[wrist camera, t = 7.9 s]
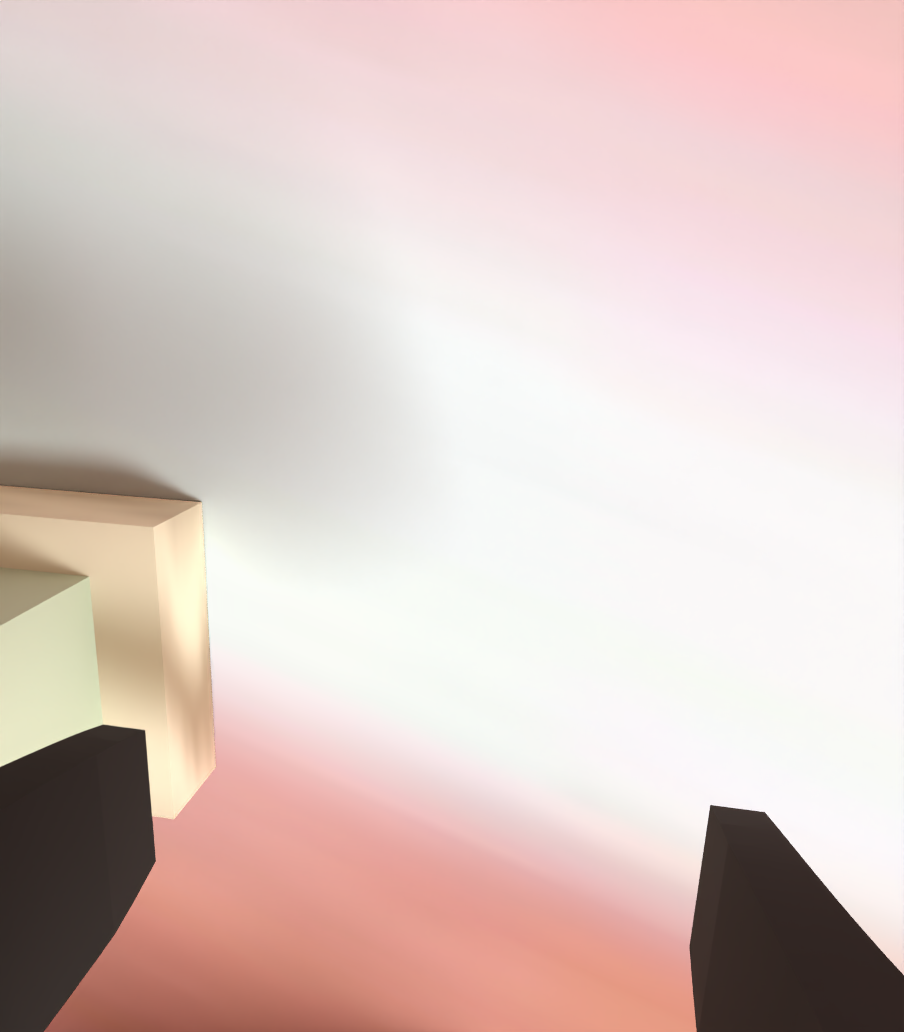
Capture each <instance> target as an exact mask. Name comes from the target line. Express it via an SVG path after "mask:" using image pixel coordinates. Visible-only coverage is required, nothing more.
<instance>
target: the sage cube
mask: <svg viewBox="0 0 904 1032" xmlns="http://www.w3.org/2000/svg"><path fill="white" fill-rule="evenodd" d="M100 725H103V719H102V708H101V697H100V686H99V676H98V665H97V654H96V644H95V633H94V622H93V612H92V601H91V590H90V579H89V577H88V576H79V575H69V574H60V573H50V572H40V571H31V570H21V569H12V568H2V567H0V767H1V766H3V765H6V764H8V763H10V762H12V761H15V760H17V759H19V758H21V757H23V756H26V755H28V754H30V753H33V752H35V751H37V750H39V749H42V748H44V747H46V746H49V745H51V744H53V743H56V742H58V741H60V740H63V739H65V738H68V737H70V736H73V735H75V734H78V733H80V732H83V731H85V730H88V729H91V728H94V727H97V726H100Z"/></svg>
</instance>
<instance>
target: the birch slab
mask: <svg viewBox="0 0 904 1032" xmlns="http://www.w3.org/2000/svg"><path fill="white" fill-rule="evenodd" d="M0 567H2V568H12V569H21V570H31V571H40V572H50V573H60V574H69V575H79V576H88V577H89V579H90V590H91V601H92V612H93V622H94V633H95V644H96V654H97V665H98V676H99V686H100V697H101V708H102V719H103V724H104V725H111V726H119V727H126V728H134V729H141V730H145V734H146V746H147V759H148V771H149V784H150V796H151V809H152V816H156V817H163V818H169V819H175V817H176V816H177V815H178V814H179V812H180V811H181V810H182V809H183V807H184V806H185V805H186V804H187V802H188V801H189V800H190V799H191V797H192V796H193V795H194V794H195V793H196V791H197V790H198V789H199V788H200V786H201V785H202V784H203V783H204V781H205V780H206V779H207V778H208V776H209V775H210V774H211V773H212V771H213V770H214V769H215V768H216V762H215V743H214V724H213V705H212V686H211V667H210V648H209V629H208V610H207V591H206V572H205V553H204V534H203V515H202V502H193V501H181V500H169V499H158V498H146V497H134V496H122V495H110V494H98V493H86V492H74V491H62V490H50V489H38V488H26V487H14V486H2V485H0Z"/></svg>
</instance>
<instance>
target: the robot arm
mask: <svg viewBox="0 0 904 1032" xmlns="http://www.w3.org/2000/svg"><path fill="white" fill-rule="evenodd" d="M155 861H156V859H155V846H154V834H153V821H152V809H151V796H150V784H149V771H148V759H147V746H146V734H145V730H141V729H134V728H126V727H119V726H111V725H104V724H103V725H100V726H97V727H94V728H91V729H88V730H85V731H83V732H80V733H78V734H75V735H73V736H70V737H68V738H65V739H63V740H60V741H58V742H56V743H53V744H51V745H49V746H46V747H44V748H42V749H39V750H37V751H35V752H33V753H30V754H28V755H26V756H23V757H21V758H19V759H17V760H15V761H12V762H10V763H8V764H6V765H3V766H1V767H0V1032H44V1030H45V1029H46V1028H47V1026H48V1025H49V1024H50V1022H51V1021H52V1020H53V1018H54V1017H55V1016H56V1014H57V1013H58V1012H59V1010H60V1009H61V1008H62V1006H63V1005H64V1004H65V1002H66V1001H67V999H68V998H69V997H70V995H71V994H72V993H73V991H74V990H75V989H76V987H77V986H78V984H79V983H80V982H81V980H82V979H83V978H84V976H85V975H86V973H87V972H88V971H89V969H90V968H91V967H92V965H93V964H94V963H95V961H96V960H97V958H98V957H99V956H100V954H101V953H102V951H103V950H104V949H105V947H106V946H107V944H108V943H109V942H110V940H111V939H112V937H113V936H114V934H115V933H116V931H117V929H118V928H119V926H120V924H121V923H122V921H123V919H124V917H125V916H126V914H127V912H128V911H129V909H130V907H131V905H132V904H133V902H134V900H135V898H136V897H137V895H138V893H139V891H140V889H141V887H142V885H143V884H144V882H145V880H146V878H147V876H148V874H149V873H150V871H151V869H152V867H153V865H154V863H155ZM690 959H691V971H692V984H693V996H694V1007H695V1017H696V1028H697V1032H904V975H903V974H902V973H901V972H900V971H899V970H898V969H897V967H896V966H895V965H894V964H893V963H892V962H891V961H890V960H889V959H888V958H887V957H886V955H885V954H884V953H883V952H882V951H881V950H880V949H879V948H878V947H877V945H876V944H875V943H874V942H873V941H872V940H871V939H870V937H869V936H868V935H867V934H866V933H865V932H864V931H863V930H862V928H861V927H860V926H859V925H858V924H857V923H856V922H855V920H854V919H853V918H852V917H851V916H850V915H849V913H848V912H847V911H846V910H845V909H844V908H843V906H842V905H841V904H840V903H839V902H838V900H837V899H836V898H835V897H834V896H833V894H832V893H831V892H830V891H829V890H828V888H827V887H826V886H825V885H824V884H823V882H822V881H821V880H820V879H819V878H818V876H817V875H816V874H815V873H814V872H813V870H812V869H811V868H810V867H809V865H808V864H807V863H806V862H805V861H804V859H803V858H802V857H801V856H800V854H799V853H798V852H797V851H796V850H795V848H794V847H793V846H792V845H791V844H790V842H789V841H788V840H787V839H786V837H785V836H784V835H783V834H782V833H781V831H780V830H779V829H778V828H777V826H776V825H775V824H774V823H773V822H772V820H771V819H770V818H769V817H768V816H767V814H766V813H765V812H758V811H751V810H743V809H736V808H728V807H721V806H713V805H710V811H709V818H708V825H707V832H706V839H705V845H704V852H703V859H702V866H701V872H700V879H699V886H698V893H697V900H696V906H695V913H694V920H693V927H692V934H691V940H690Z"/></svg>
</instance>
